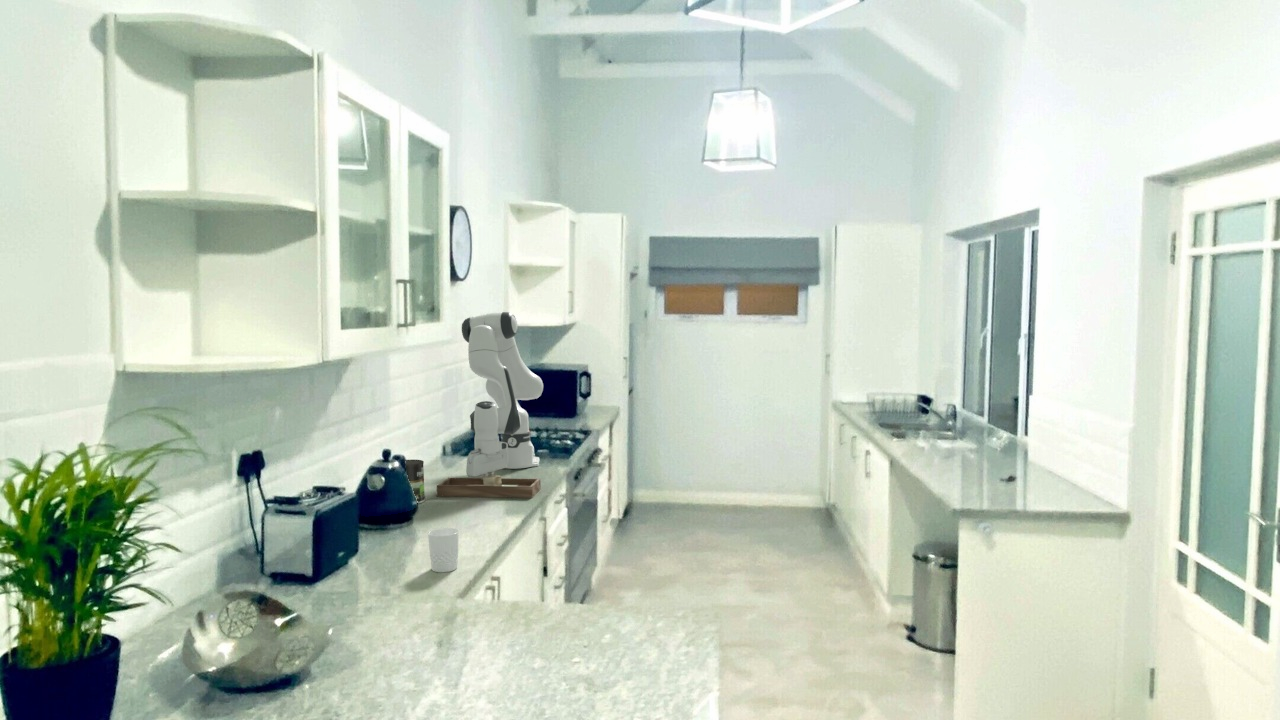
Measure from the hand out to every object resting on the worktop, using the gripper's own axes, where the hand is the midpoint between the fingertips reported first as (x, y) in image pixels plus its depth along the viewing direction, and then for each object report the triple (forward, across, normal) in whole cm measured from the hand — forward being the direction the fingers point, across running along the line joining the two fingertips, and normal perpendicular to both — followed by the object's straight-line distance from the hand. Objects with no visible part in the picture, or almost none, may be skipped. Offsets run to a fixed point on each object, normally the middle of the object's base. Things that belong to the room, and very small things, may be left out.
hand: (487, 484), depth 320 cm
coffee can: (+4, -22, +17) cm, 28 cm away
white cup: (+4, -75, -44) cm, 86 cm away
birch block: (+1, -1, -3) cm, 4 cm away
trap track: (+3, 0, 0) cm, 3 cm away
